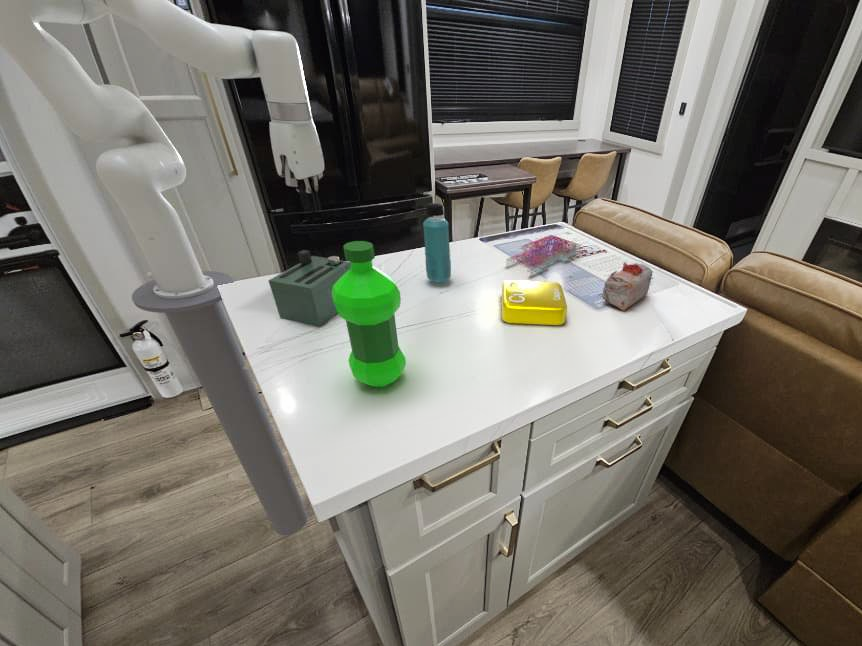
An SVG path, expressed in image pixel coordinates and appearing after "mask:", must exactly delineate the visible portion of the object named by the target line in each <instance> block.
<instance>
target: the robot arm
mask: <svg viewBox="0 0 862 646" xmlns="http://www.w3.org/2000/svg"><path fill="white" fill-rule="evenodd" d="M110 14H111V15H113V16H114V17H117V18H119V19H121V20H122V21H125V22H126V23H128V24H130V25H132V26H134V27H135V28H137V29H139V30H141V31H143V32H144V33H145V35H146V36H147V37H148V38H149V39H151V41H152V42H154V43H155V44H156V45H157V46H158V47H159V48H160V49H162V51H164V52H166V53H167V54H169V55H171V56H172V57H174V58H176V59H178V60H179V61H182V62H183V63H186V64H187V65H189V66H190V67H193V68H195V69H197V70H198V71H200V72H203V73H205V74H207V75H210V76H212V77H215V78H218V79H222V80H233V79H253V78H255V79H256V78H260V81H261V85H262V90H263V93H264V98H265V101H266V104H267V109H268V113H269V116H270V120H271V121H269V123H268V124H269V137H270V144H271V151H272V155H273V161H274V165H275V169H276V172H277V175H278V176H279V177H281V178H285V184H286V186H288V187H294V188H295V189H296V191H297V192H298V193H299V196H300V200H301V205H302V209H303V211H305V212H310V213H317V212H319V211H321V210H322V207H321V203H320V197H319V193H318V191H319V180H321V179H322V178H323V177H324V173H323V172H324V171H325V159H324V155H323V150H322V145H321V142H320V139H319V134H318V132H317V129H316V125H315V123H314V120H313V115H312V111H311V110H312V109H311V104H310V100H309V95H308V94H309V93H308V90H307V84H306V80H305V75H304V74H305V73H304V70H303V63H302V59H301V54H300V49H299V45H298V41H297V39H296V38H295V36H293V34H291V33H289V32H286V31H278V30H269V29H268V30H266V29H256V30H252V29H248V28H246V27H245V28H244V27H240V26H232V25H226V24H219V23H211V22H208V21H205V20H203V19H202V18H200V17H198V16H196V15H194V14H192V13H190V12H189V11H187V10H185V9H183V8H181V7H180V6H178V5H176V4H174V3H173V2H171V1H170V0H0V46H1V48H3V50H4V51H5V52H7V53H8V55H9V56H10V57H11V58H12V59H13V60H14V61H15V62H16V64H17V65H18V66H19V67H20V68H21V70H22V71H23V72H24V73H25V75H26V76H27V77H28V78H29V80H30V81H31V83H32V84H33V85H34V87H36V89H37V90H38V91H39V92H40V94H41V95H42V96H43V97H44V99H45V100H46V101H47V102H48V104H49V105H50V106H51V107H52V109H53V110H54V111H55V113H56V114H57V115H58V116H59V118H60V119H61V120H62V121H63V122H64V124H65V125H67V127H68V128H69V129H70V130H71V131H72V132H73V133H74V134H75V135H76V136H77V137H79V138H80V139H82V140H84V141H87V142H90V143H108V142H113V141H119V140H123V141H124V143H126V145H122V146H118V147H114V148H111V149H107V150H106V151H104V152H103V153H101V154H100V155H99V157H98V158H97V160H96V162H95V169H96V174H97V176H98V178H99V179H100V182H101V183H102V185H103V186H104V187H105V188H106V190H107V191H108V192H109V194H110V196H112V198H113V199H114V201H115V202H116V204H117V206H118V207H119V209H120V211H121V212H122V214H123V216H124V218H125V220H126V223H128V225H129V228H130V230H131V232H132V233H133V235H134V238H135V239H136V241H137V243H138V245H139V247H140V250H141V251H142V254H143V255H144V257H145V260H146V261H147V262H146V263H148V266H149V268H150V271H149V272H146V276H147V278H149V279H153V280H155V281H156V283H157V284H156V285H155V286H154V288H153V291H154V293H155V295H156V296H158V297H160V298H164V299H183V298H189V297H194V296H197V295H200V294H203V293H205V292H207V291H209V290H210V289H211V288H212V287H213V286H214V282H213V279H212V278H210V277H209V276H206V275H203V273H202V271H203V270H202V268H201V267H200V264H199V261H198V259H197V256H196V254H195V252H194V250H193V247H192V244H191V242H190V240H189V238H188V237H189V236H188V235H187V231H186V230H185V228H184V225H183V223H182V221H181V218H180V216H179V214H178V212H177V211H176V209H175V208H174V206H173V205H172V204H171V203H170V202H169V201H168V200H167V199H166V198H165V196H163V194H162V192H164V191H167V190H171V189H174V188H176V187H179V186H180V185H182V184H183V183H184V181H185V180H186V178H187V169H186V165H185V162H184V160H183V158H182V157H181V155H180V154H179V152H178V150H177V148H175V146H174V144H173V143H172V141H171V140H170V138H169V137H168V135H167V134H166V133H165V132H164V130H163V128H162V127H161V125H160V124H159V123H158V121H157V119H156V118H155V116H154V115H153V114H152V113H151V110H149V109H148V107H147V105H145V104H144V102H143V101H142V100H141V99H140V98H139V97H138V96H136V95H135V94H134V93H132V92H131V91H129V89H126V88H124V87H121V86H119V85H115V84H109V83H108V84H107V83H106V84H105V83H104V84H96V82H94V81H93V79H91V77H90V76H89V75H88V73H87V72H86V71H85V70H84V68H83V67H82V65H81V64H80V63H79V61H78V60H77V58H76V57H75V56H74V55H73V54H72V53H71V51H69V50H68V48H67V47H66V46H65V45H63V44H62V43H61V42H60V41H59V40H57V39H56V37H54V36H52V35H51V34H50V33H49V32H48V31H46V30H45V29H44V28H43V27H42V26H41V25H40V22H43V23H53V24H65V25H85V24H89V23H92V22H95V21H96V20H99V19H101V18H104V17H105V16H107V15H110Z"/></svg>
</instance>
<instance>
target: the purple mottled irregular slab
mask: <svg viewBox="0 0 862 646" xmlns="http://www.w3.org/2000/svg"><path fill="white" fill-rule="evenodd" d="M582 246H583V245H582V244H580V243H576V242H573V241H570V240H569V239H568V240H567V239H564V238H561V237H560V236H557V235H552V234H549V235H547V236H544V237H542V238H539V239H536V240H534V241H531V242H528V243H526V244H523V245H520V246H518V247H519V249H520V250H524V251H523V252H520V253H518V254H515V255H513V256H511V257H508V258H506V265H505V268H506V269H508V268H510V267H512V266H515V265H519V266H521V267H525V268H526V269H527V270H526V271H527V272H528V273H530V278H533V277H535V276H537V275H538V272H539V273H544V272H545V271H547V270H548V267H549V266H551V265H553V264H556V263H558V262H560V261H561V262H563V263H567V262H569V261H572V260H574V257H575V256H576V255H578V254H581V252H580V251H577V250H581V249H582ZM512 263H513V264H512Z"/></svg>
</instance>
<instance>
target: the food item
mask: <svg viewBox="0 0 862 646" xmlns="http://www.w3.org/2000/svg"><path fill="white" fill-rule="evenodd" d="M653 273H654V271H653V270H652V269H651V268H650V267H648V266H647V265H645V264H642V263H636V262H635V263H633V264H627V262H626V261H624V262H623V265H622V269H621V270H619V271H618V270H615V271H613V272H612V273H611V274H610V275H609V276H608V277H607V279H606V280H605V281H604V286H603V289H602V294H601V296H602V299H603V301H605V302H606V303H608V304H610V305H611V306H613V307H615V308H617V309H619V310H621V311H626V310H627V309H628V308H630V307H631V306H633V305H634V304H635V303H637V302H638V301H640V300H641V299H642V298H644V297H646V296H647V295H648V292H649V290H650V285H651V281H652V278H653Z"/></svg>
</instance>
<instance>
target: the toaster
mask: <svg viewBox="0 0 862 646" xmlns="http://www.w3.org/2000/svg"><path fill="white" fill-rule="evenodd" d="M311 260H312V262H310V263H308V264H307V265H306V264H300V262H299V263H297V264H295V265H293V266H292V267H290V268H288V269H286V270H284V271H283V272H281V273H279V274H277V275H276V276H274V277H272V278H270V279H268V285H269V287H270V290H271V294H272V296H273V299H274V303H275V307H276V309H277V312H278V315H279V319H281V320H286V321H290V322H291V321H292V322H295V323H301V324H305V325H312V326H316V327H322V326H323V325H324V324H326V323H327V322H328V321H329V320H331V319H332V318H334V317H335V316H336V315H338V314H339V313H338V311H337V309H336V307H335V304H334V302H333V298H332V294H331V293H332V288H333V285H334V284H335V283H336V282H337V281H338V280H339V279H340V278H341V277H342V276H343V275H344V274H345V273H346V272H347V271H348V270H349V269H350V268H351V265H350V262H349V261H347V260H346V261H345V260H340V259H339V260H340V265H339V266H337V267H335V266H329V262H328V257H322V256H316V255H311Z"/></svg>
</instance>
